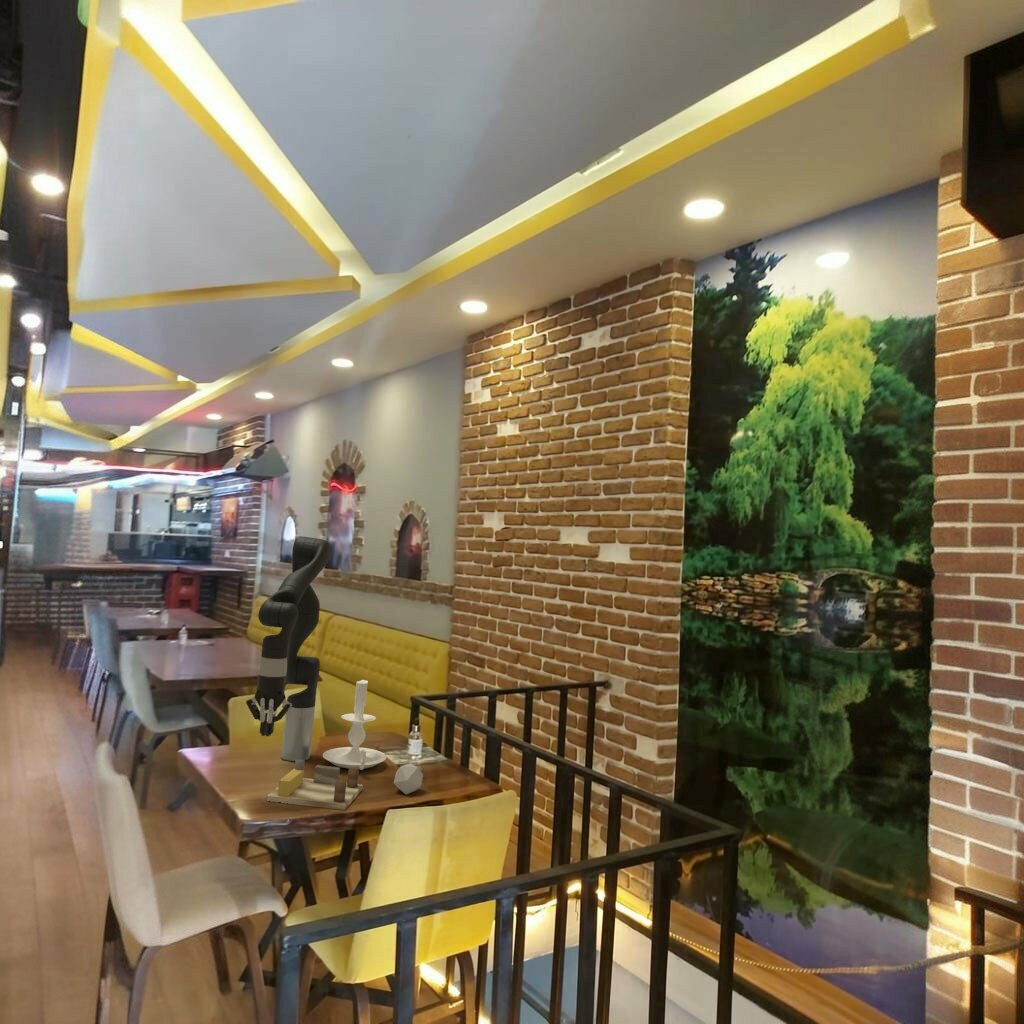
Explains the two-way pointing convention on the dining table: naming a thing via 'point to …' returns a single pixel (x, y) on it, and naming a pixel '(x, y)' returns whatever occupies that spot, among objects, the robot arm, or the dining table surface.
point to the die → (408, 778)
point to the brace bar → (292, 779)
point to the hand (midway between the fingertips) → (266, 735)
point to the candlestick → (356, 737)
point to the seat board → (323, 789)
